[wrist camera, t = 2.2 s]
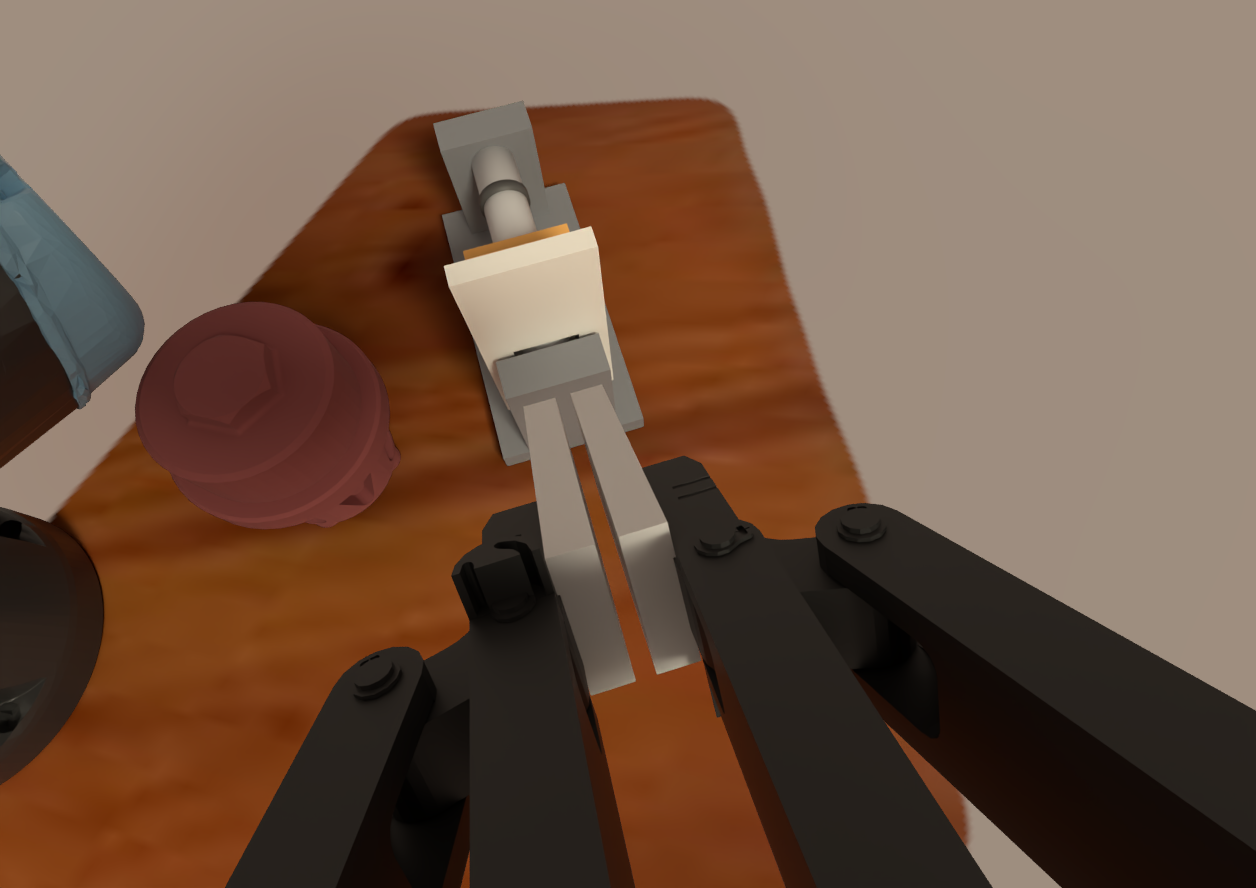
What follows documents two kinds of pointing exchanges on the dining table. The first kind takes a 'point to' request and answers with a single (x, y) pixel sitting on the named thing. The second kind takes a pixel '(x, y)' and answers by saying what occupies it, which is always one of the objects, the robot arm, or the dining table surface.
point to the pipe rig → (506, 208)
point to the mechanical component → (267, 418)
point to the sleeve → (531, 296)
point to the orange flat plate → (516, 241)
